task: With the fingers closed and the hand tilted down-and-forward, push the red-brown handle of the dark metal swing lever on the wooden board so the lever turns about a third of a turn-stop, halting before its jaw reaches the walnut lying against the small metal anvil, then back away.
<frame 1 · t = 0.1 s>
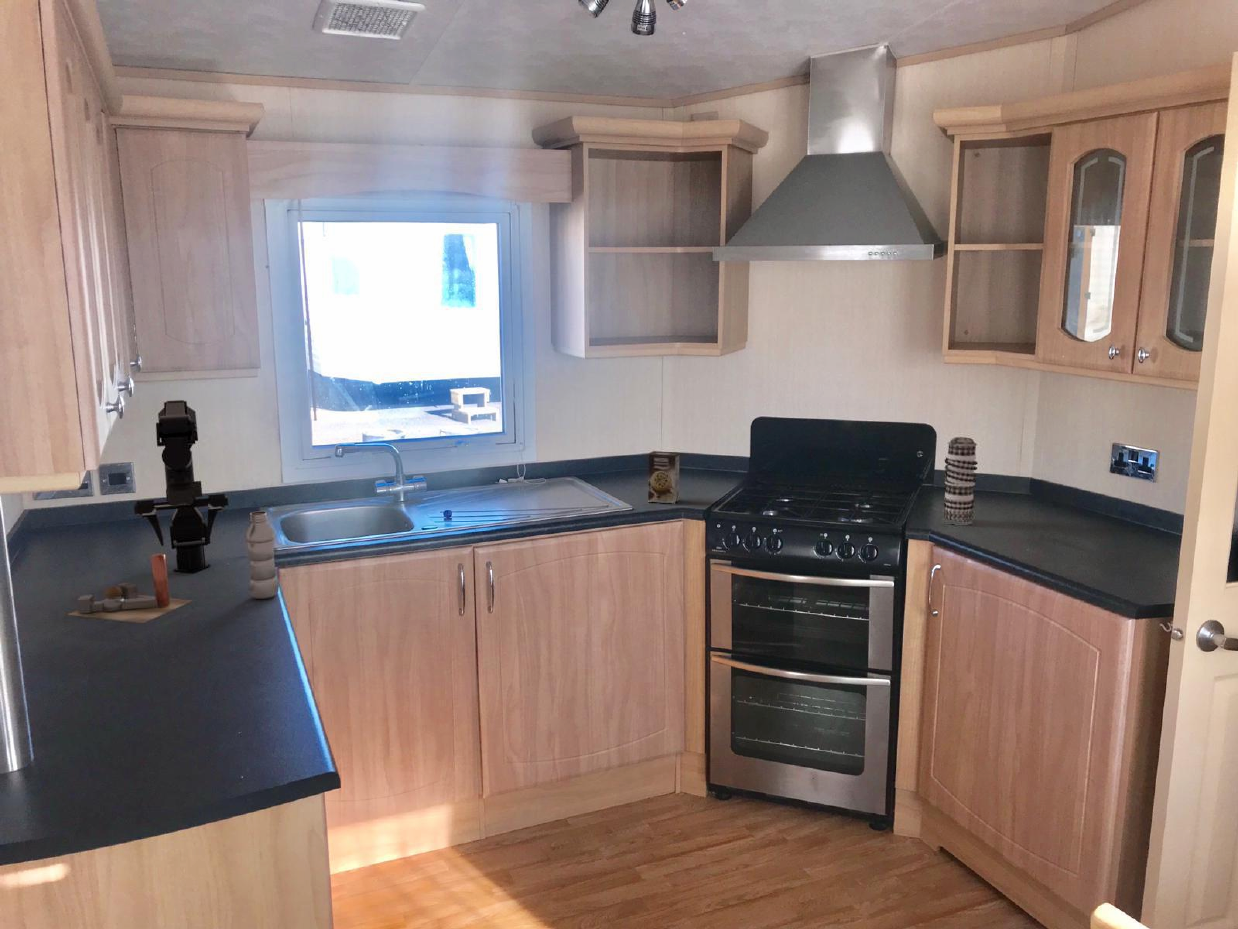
hand: (185, 543, 216), 15 cm above the worktop, tool pointing down, fingers open, 9 cm apart
cookie box: (663, 502, 319), on the worktop
decorative candle: (957, 522, 290), on the worktop
walnut: (114, 601, 222), point 1 cm above the worktop, touching wooden board
lever: (122, 582, 215), point 7 cm above the worktop, hinge at 0.0°
plastic bottle: (265, 598, 228), on the worktop
wooden board: (131, 612, 218), on the worktop
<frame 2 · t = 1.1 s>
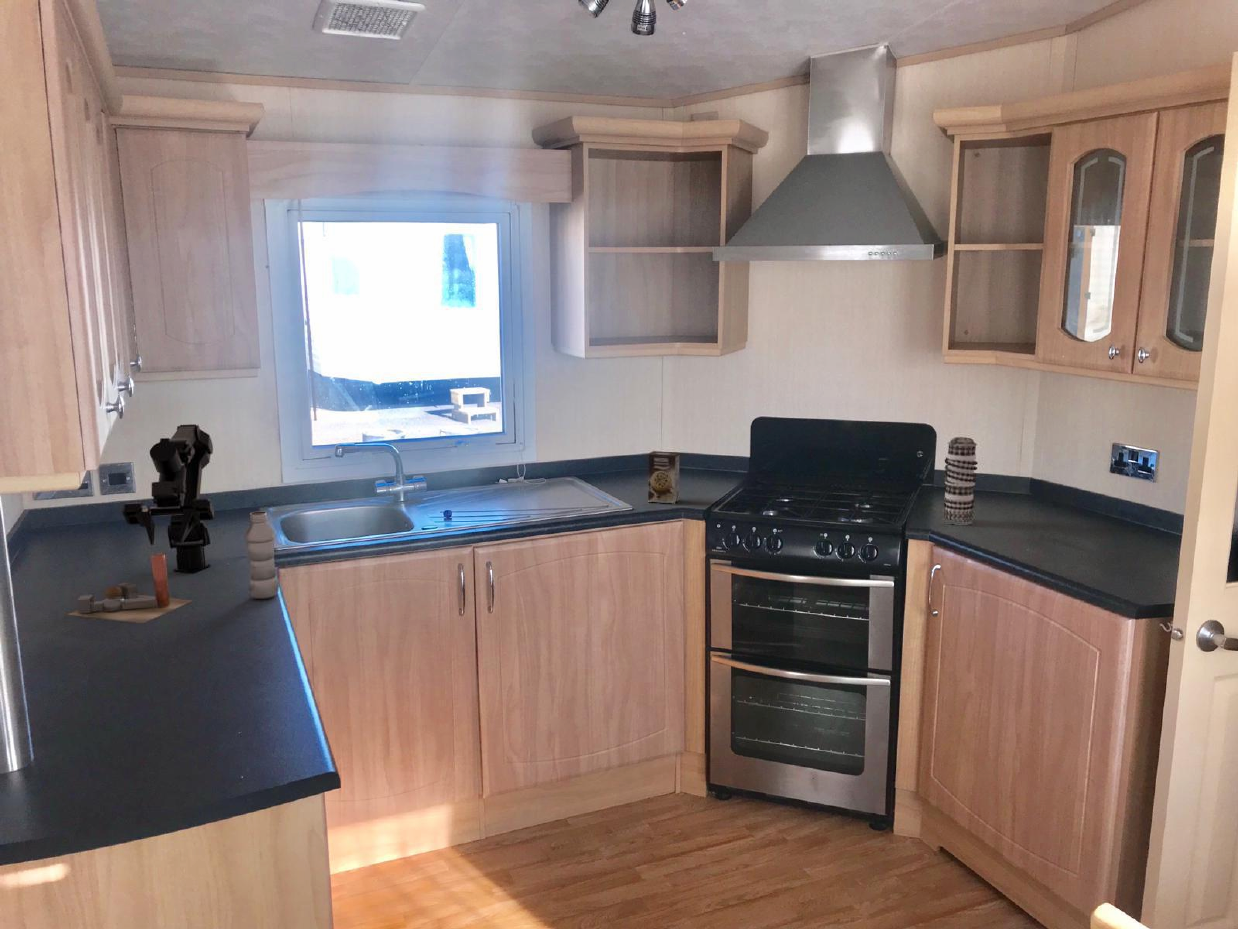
hand: (166, 543, 223), 13 cm above the worktop, tool tilted 45°, fingers open, 6 cm apart
nothing on the worktop moved.
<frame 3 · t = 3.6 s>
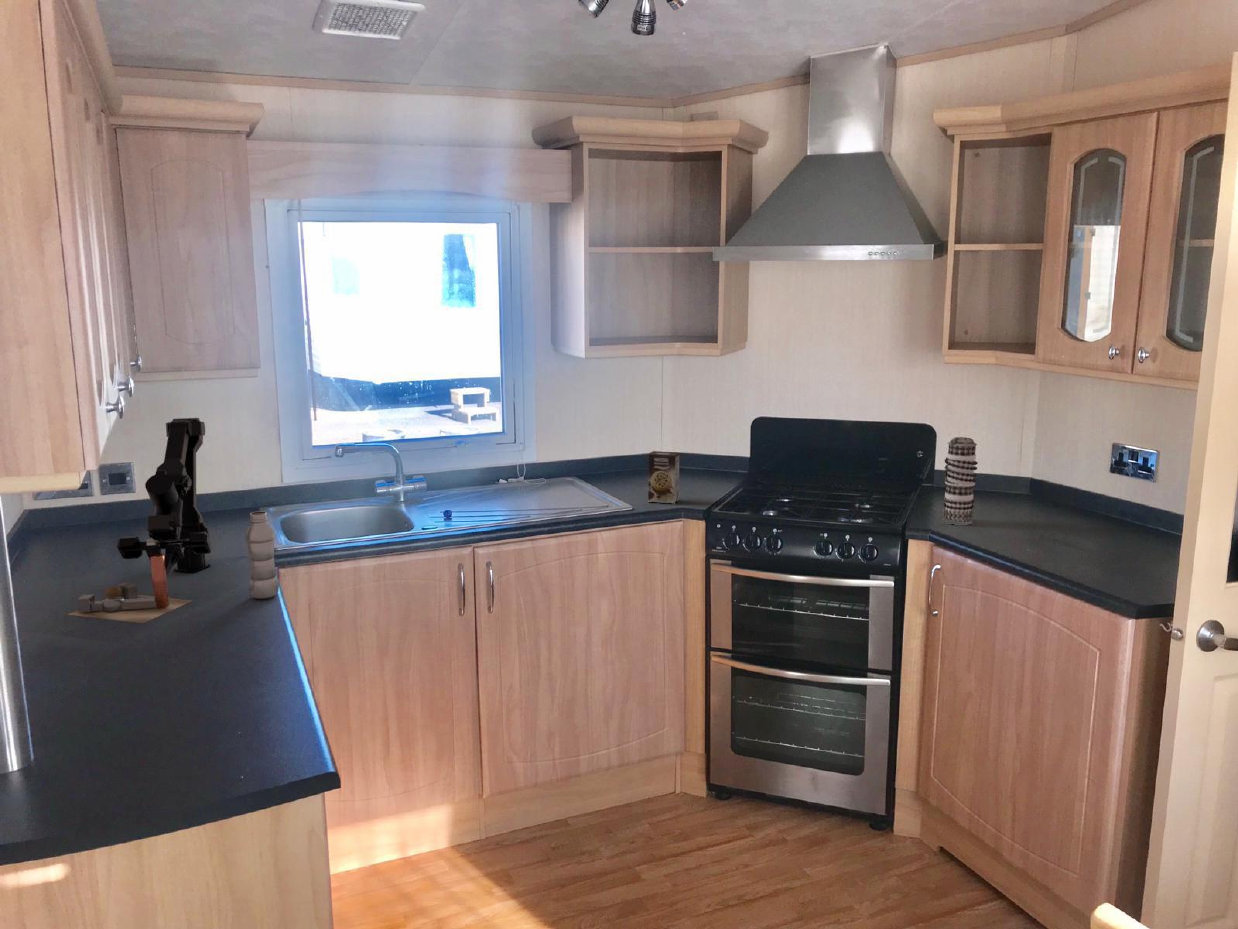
hand: (162, 578, 218), 7 cm above the worktop, tool tilted 45°, fingers closed, pressing on lever
lever: (122, 583, 215), point 7 cm above the worktop, hinge at 4.5°, touching gripper
everything else where it was.
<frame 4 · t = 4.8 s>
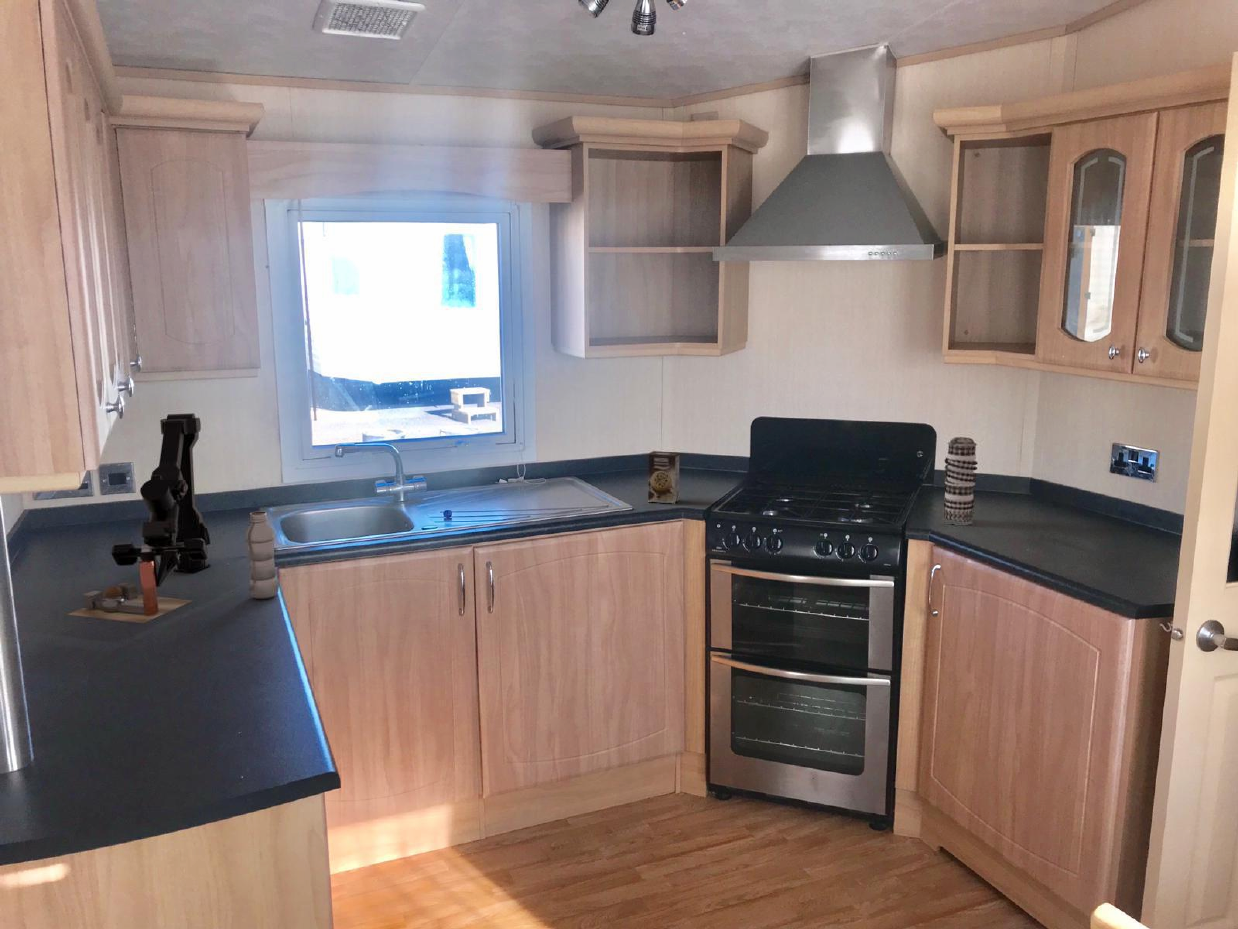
hand: (157, 586, 213), 7 cm above the worktop, tool tilted 45°, fingers closed
lever: (120, 584, 214), point 7 cm above the worktop, hinge at 29.8°, touching gripper
everything else where it was.
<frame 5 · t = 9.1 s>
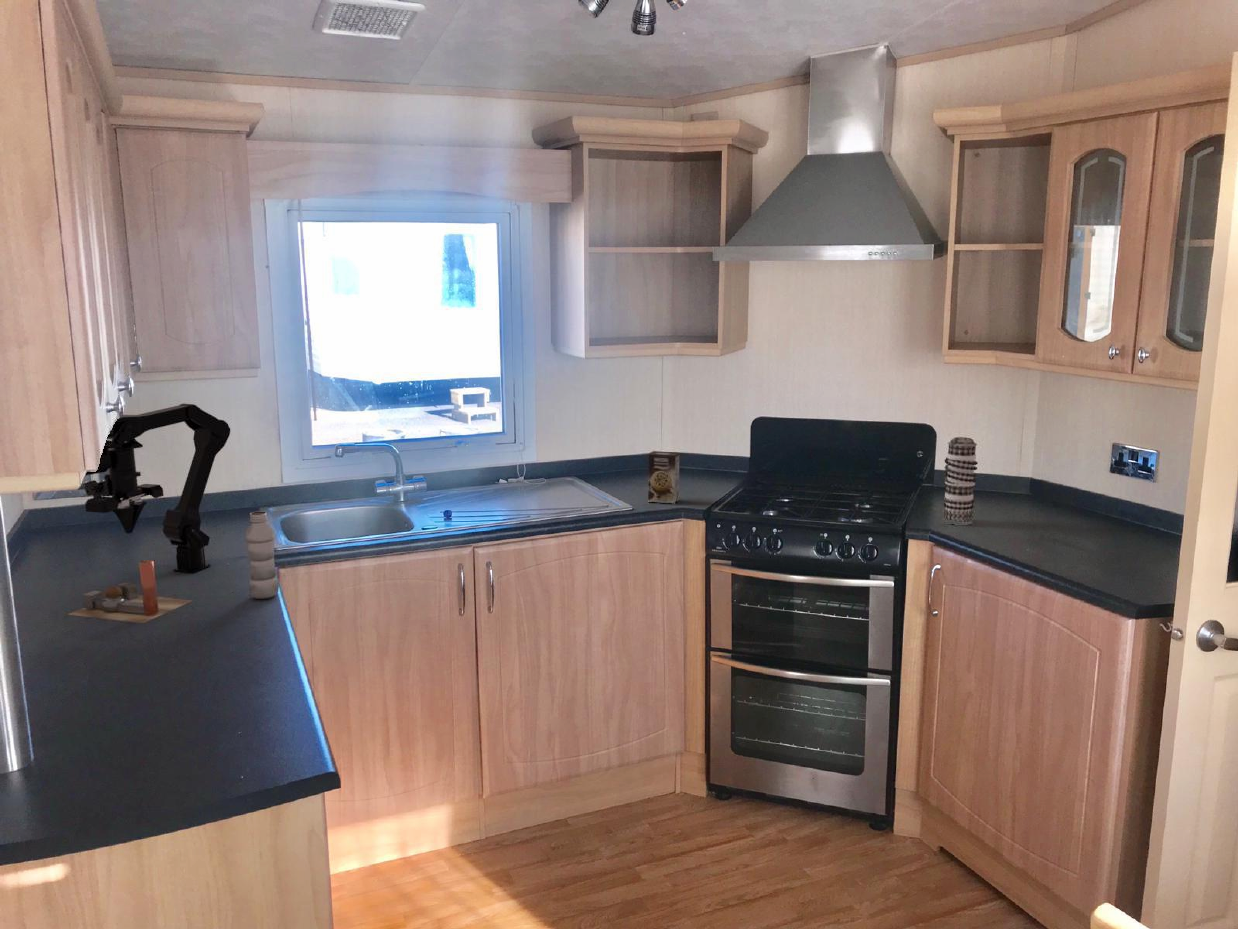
hand: (129, 533, 234), 13 cm above the worktop, tool pointing down, fingers closed
lever: (120, 584, 214), point 7 cm above the worktop, hinge at 29.8°
everything else where it was.
at the end: lever at +30° (first picture: +0°); lever touching nothing; walnut moved 0.1 cm from its start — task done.
